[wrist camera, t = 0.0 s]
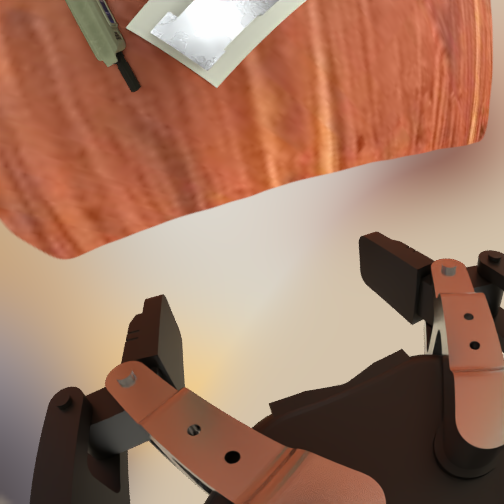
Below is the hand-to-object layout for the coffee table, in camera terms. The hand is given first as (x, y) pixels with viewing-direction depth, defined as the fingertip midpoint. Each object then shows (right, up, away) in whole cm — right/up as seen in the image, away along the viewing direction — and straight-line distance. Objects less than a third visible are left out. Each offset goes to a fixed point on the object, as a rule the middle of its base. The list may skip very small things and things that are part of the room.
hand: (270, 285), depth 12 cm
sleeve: (-5, +28, +14) cm, 32 cm away
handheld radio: (-19, +29, +11) cm, 37 cm away
